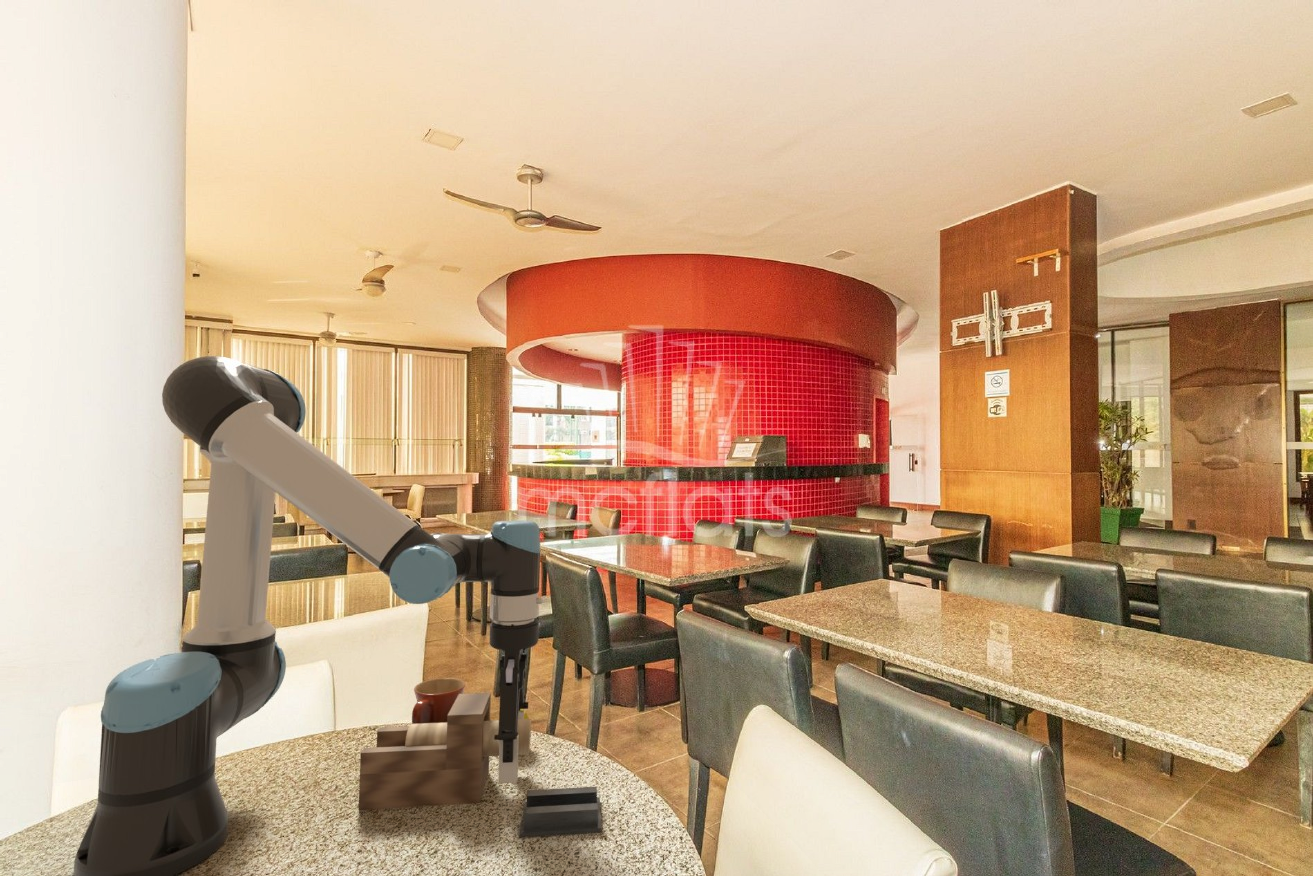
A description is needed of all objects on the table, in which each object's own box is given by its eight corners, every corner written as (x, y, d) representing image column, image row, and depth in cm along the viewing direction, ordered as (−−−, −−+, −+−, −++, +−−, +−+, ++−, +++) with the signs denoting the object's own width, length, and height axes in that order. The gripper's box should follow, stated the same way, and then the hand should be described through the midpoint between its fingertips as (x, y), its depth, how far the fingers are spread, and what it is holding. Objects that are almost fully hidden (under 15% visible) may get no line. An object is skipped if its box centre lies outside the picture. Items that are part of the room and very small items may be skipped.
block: (358, 810, 88) (361, 719, 89) (378, 779, 97) (381, 696, 98) (480, 803, 90) (482, 714, 91) (488, 773, 99) (490, 692, 100)
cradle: (518, 838, 82) (519, 817, 82) (524, 806, 89) (524, 787, 90) (601, 832, 83) (601, 812, 83) (599, 801, 91) (599, 783, 91)
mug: (430, 732, 115) (431, 676, 115) (472, 736, 113) (474, 679, 114) (390, 761, 103) (392, 699, 104) (437, 766, 101) (438, 703, 102)
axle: (405, 768, 91) (404, 736, 91) (414, 747, 96) (413, 717, 96) (528, 761, 93) (528, 731, 93) (530, 741, 98) (530, 712, 98)
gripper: (533, 637, 86) (530, 802, 85) (542, 604, 108) (540, 735, 107) (479, 638, 85) (475, 805, 84) (499, 605, 107) (496, 737, 106)
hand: (511, 766), depth 95 cm, fingers open, 9 cm apart
